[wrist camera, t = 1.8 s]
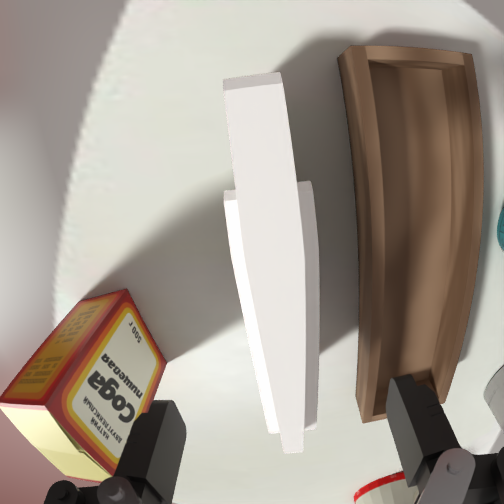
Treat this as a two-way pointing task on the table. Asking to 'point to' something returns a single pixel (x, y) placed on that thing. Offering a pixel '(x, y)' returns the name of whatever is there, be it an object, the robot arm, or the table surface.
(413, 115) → the trough
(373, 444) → the table surface
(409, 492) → the kitchen timer
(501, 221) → the beverage bottle
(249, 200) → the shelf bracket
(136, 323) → the baking soda box
